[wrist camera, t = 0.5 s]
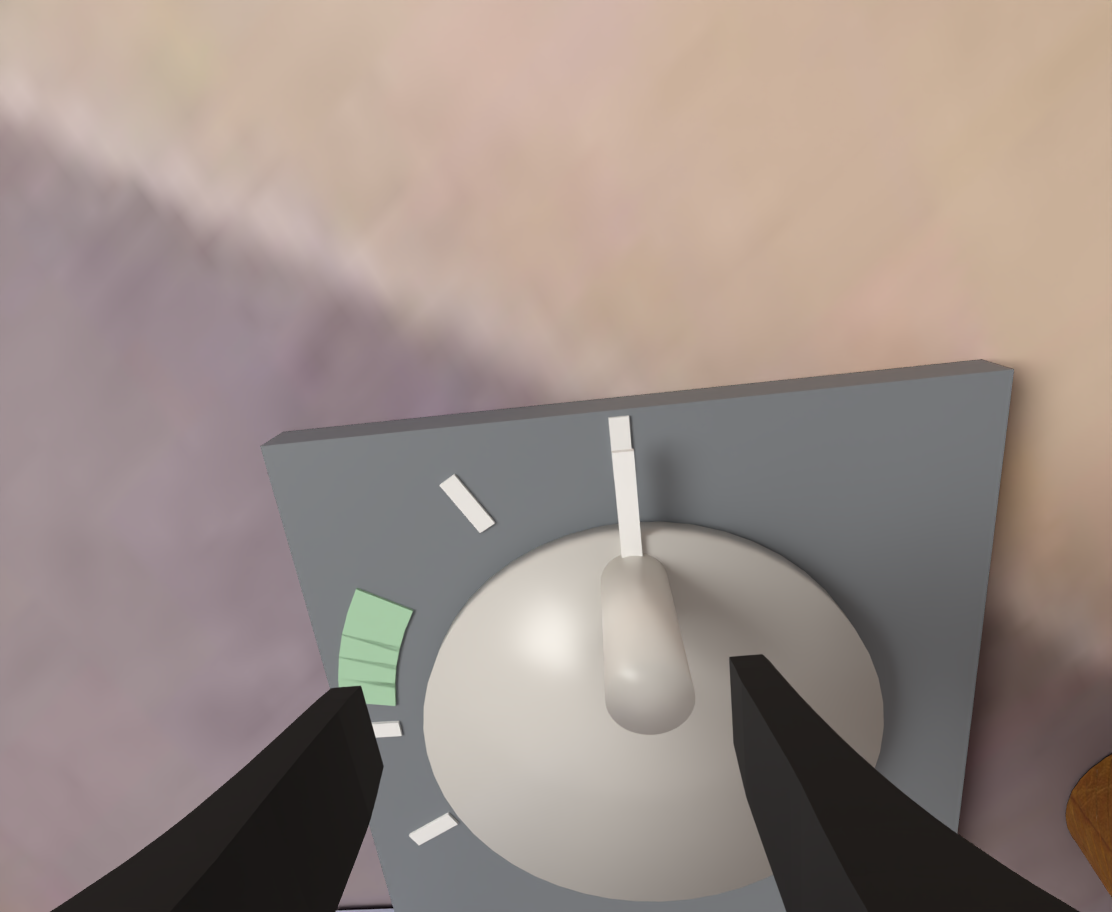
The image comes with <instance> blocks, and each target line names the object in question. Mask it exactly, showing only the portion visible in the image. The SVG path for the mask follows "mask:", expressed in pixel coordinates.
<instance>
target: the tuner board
mask: <svg viewBox="0 0 1112 912" xmlns="http://www.w3.org/2000/svg"><path fill="white" fill-rule="evenodd" d="M1013 374H1014V369H1011V368H1008V367H1005V366H1001V365H998V364H995V363H992V362H988V361H985V360H982V359H981V360H972V361H962V362H953V363H943V364H933V365H924V366H914V367H904V368H895V369H885V370H875V371H866V372H856V373H847V374H837V375H827V376H818V377H808V378H798V379H789V380H779V381H769V382H760V383H750V384H741V385H731V386H721V387H712V388H702V389H692V390H683V391H673V392H664V393H654V394H644V395H635V396H625V397H615V398H606V399H596V400H586V401H577V402H567V403H558V404H548V405H538V406H529V407H519V408H509V409H500V410H490V411H480V412H471V413H461V414H452V415H442V416H432V417H423V418H413V419H403V420H394V421H384V422H375V423H365V424H355V425H346V426H336V427H326V428H317V429H307V430H297V431H288V432H282V433H281V434H279V435H277V436H276V437H274V438H273V439H271V440H269V441H268V442H266V443H265V444H263V445H262V446H260V447H261V450H262V454H263V457H264V461H265V464H266V468H267V471H268V475H269V478H270V482H271V485H272V489H273V492H274V496H275V499H276V503H277V506H278V509H279V513H280V516H281V520H282V523H283V527H284V530H285V534H286V537H287V541H288V544H289V548H290V551H291V555H292V558H293V562H294V565H295V568H296V572H297V575H298V579H299V582H300V586H301V589H302V593H303V596H304V600H305V603H306V607H307V610H308V614H309V617H310V621H311V624H312V627H313V631H314V634H315V638H316V641H317V645H318V648H319V652H320V655H321V659H322V662H323V666H324V669H325V673H326V676H327V680H328V683H329V686H330V689H331V688H336V687H349V686H361V687H362V691H363V694H364V698H365V701H366V705H367V708H368V712H369V715H370V719H371V723H372V726H373V730H374V733H375V737H376V740H377V744H378V747H379V751H380V754H381V758H382V761H383V765H384V768H383V772H382V776H381V780H380V785H379V789H378V793H377V797H376V801H375V805H374V809H373V812H372V816H371V820H370V823H369V825H370V829H371V832H372V836H373V839H374V843H375V846H376V850H377V853H378V857H379V860H380V863H381V867H382V870H383V874H384V877H385V881H386V884H387V888H388V891H389V895H390V898H391V902H392V905H393V909H394V912H786V909H785V907H784V904H783V901H782V898H781V895H780V892H779V890H778V887H777V884H776V881H775V878H774V875H771V876H769V877H767V878H765V879H762V880H760V881H757V882H755V883H752V884H749V885H747V886H744V887H742V888H738V889H735V890H731V891H727V892H724V893H720V894H717V895H711V896H706V897H700V898H694V899H688V900H676V901H663V902H656V901H628V900H619V899H609V898H604V897H599V896H594V895H589V894H584V893H581V892H577V891H574V890H571V889H567V888H564V887H561V886H558V885H555V884H553V883H550V882H548V881H546V880H543V879H541V878H538V877H536V876H534V875H532V874H530V873H528V872H526V871H524V870H523V869H521V868H519V867H517V866H515V865H513V864H512V863H510V862H509V861H507V860H506V859H504V858H503V857H502V856H500V855H499V854H497V853H496V852H494V851H493V850H491V849H490V848H489V847H488V846H487V845H486V844H485V843H483V842H482V841H481V840H480V839H479V838H478V837H477V836H475V835H474V834H473V833H472V832H471V830H470V829H469V828H468V827H467V826H466V825H465V824H464V823H463V821H462V820H461V819H460V818H459V817H458V816H457V814H456V813H455V811H454V810H453V808H452V807H451V806H450V804H449V803H448V801H447V800H446V798H445V797H444V795H443V793H442V791H441V789H440V787H439V785H438V783H437V781H436V778H435V776H434V774H433V771H432V768H431V764H430V761H429V758H428V755H427V750H426V744H425V737H424V731H423V726H424V702H425V696H426V690H427V685H428V681H429V678H430V675H431V672H432V669H433V667H434V664H435V661H436V658H437V655H438V652H439V650H440V647H441V644H442V641H443V639H444V637H445V636H446V634H447V632H448V630H449V628H450V626H451V624H452V622H453V621H454V619H455V617H456V616H457V615H458V613H459V612H460V611H461V609H462V608H463V607H464V605H465V604H466V603H467V601H468V600H469V599H470V597H471V596H472V595H473V594H474V593H475V592H476V591H477V590H478V589H479V588H480V587H481V586H482V585H483V584H484V583H485V582H486V581H487V580H488V579H489V578H491V577H492V576H493V575H495V574H496V573H497V572H499V571H500V570H501V569H503V568H504V567H505V566H507V565H508V564H509V563H511V562H512V561H514V560H515V559H517V558H519V557H521V556H522V555H524V554H526V553H528V552H530V551H531V550H533V549H535V548H537V547H539V546H541V545H543V544H546V543H548V542H551V541H553V540H556V539H558V538H561V537H563V536H566V535H569V534H573V533H576V532H580V531H584V530H587V529H591V528H595V527H600V526H607V525H614V524H619V523H618V513H617V502H616V491H615V481H614V470H613V460H612V451H615V450H625V449H633V450H634V459H635V471H636V483H637V496H638V508H639V520H640V522H671V523H682V524H693V525H698V526H702V527H707V528H711V529H716V530H721V531H725V532H728V533H731V534H733V535H736V536H739V537H742V538H745V539H748V540H751V541H753V542H755V543H757V544H759V545H761V546H763V547H766V548H768V549H770V550H772V551H774V552H776V553H778V554H780V555H781V556H783V557H784V558H786V559H787V560H789V561H790V562H792V563H793V564H795V565H796V566H797V567H799V568H800V569H802V570H803V571H805V572H806V573H807V574H808V575H809V576H810V577H811V578H812V579H814V580H815V581H816V582H817V583H818V584H819V585H820V586H821V587H822V588H823V589H825V590H826V591H827V593H828V594H829V595H830V596H831V598H832V599H833V600H834V601H835V603H836V604H837V605H838V606H839V607H840V609H841V610H842V611H843V613H844V614H845V615H846V617H847V618H848V620H849V621H850V623H851V624H852V626H853V627H854V629H855V630H856V632H857V633H858V635H859V637H860V639H861V640H862V642H863V644H864V645H865V647H866V649H867V651H868V652H869V654H870V657H871V660H872V662H873V665H874V668H875V670H876V673H877V676H878V678H879V683H880V689H881V694H882V699H883V716H884V729H883V736H882V742H881V749H880V754H879V757H878V760H877V763H876V766H875V769H876V770H877V771H879V772H880V773H881V774H882V775H883V776H884V777H885V778H887V779H888V780H889V781H890V782H891V783H892V784H894V785H895V786H896V787H897V788H898V789H900V790H901V791H902V792H903V793H905V794H906V795H907V796H908V797H909V798H911V799H912V800H913V801H915V802H916V803H917V804H918V805H920V806H921V807H922V808H924V809H925V810H926V811H927V812H929V813H930V814H931V815H932V816H934V817H935V818H936V819H938V820H939V821H941V822H942V823H943V824H945V825H946V826H947V827H949V828H950V829H951V830H953V831H954V832H956V833H957V832H958V824H959V816H960V808H961V799H962V791H963V783H964V775H965V767H966V759H967V750H968V742H969V734H970V726H971V718H972V709H973V701H974V693H975V685H976V677H977V668H978V660H979V652H980V644H981V636H982V627H983V619H984V611H985V603H986V595H987V587H988V578H989V570H990V562H991V554H992V546H993V537H994V529H995V521H996V513H997V505H998V496H999V488H1000V480H1001V472H1002V464H1003V455H1004V447H1005V439H1006V431H1007V423H1008V415H1009V406H1010V398H1011V390H1012V382H1013Z"/></svg>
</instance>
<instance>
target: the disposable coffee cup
mask: <svg viewBox="0 0 1112 912" xmlns="http://www.w3.org/2000/svg"><path fill="white" fill-rule="evenodd" d="M1066 821H1067V827H1068V829H1069V831H1070V833H1071V836H1072V837H1073V839H1074V840H1075V841H1076V843H1077V844H1078V846H1079V847H1080V849H1081V850H1082V852H1083V854H1084V855H1085V857H1086V858H1087V860H1088V861H1089V863H1090V864H1091V866H1092V868H1093V869H1094V871H1095V872H1096V874H1097V875H1098V877H1099V878H1100V880H1101V881H1102V883H1103V885H1104V886H1105V888H1106V889H1107V891H1108V892H1109V894H1110V895H1111V897H1112V755H1110V756H1108V757H1106V758H1105V759H1103V760H1102V761H1101V762H1099V763H1098V764H1097V765H1096V766H1094V767H1093V768H1092V769H1090V770H1089V771H1088V772H1087V773H1086V774H1085V775H1084V776H1083V777H1082V778H1081V779H1080V781H1079V782H1078V783H1077V785H1076V786H1075V788H1074V789H1073V791H1072V793H1071V796H1070V799H1069V801H1068V804H1067V808H1066Z"/></svg>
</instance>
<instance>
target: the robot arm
mask: <svg viewBox="0 0 1112 912" xmlns="http://www.w3.org/2000/svg"><path fill="white" fill-rule="evenodd" d="M729 666H730V686H731V706H732V726H733V744H734V748H735V752H736V757H737V761H738V765H739V770H740V774H741V778H742V782H743V786H744V790H745V794H746V798H747V801H748V804H749V807H750V810H751V813H752V816H753V819H754V821H755V824H756V827H757V830H758V833H759V836H760V839H761V841H762V844H763V847H764V850H765V853H766V856H767V858H768V861H769V864H770V867H771V870H772V873H773V875H774V878H775V881H776V884H777V887H778V890H779V892H780V895H781V898H782V901H783V904H784V907H785V909H786V912H1079V911H1077V910H1076V909H1074V908H1072V907H1071V906H1069V905H1067V904H1066V903H1064V902H1062V901H1061V900H1059V899H1057V898H1056V897H1054V896H1052V895H1051V894H1049V893H1047V892H1046V891H1044V890H1042V889H1041V888H1039V887H1037V886H1036V885H1034V884H1032V883H1031V882H1029V881H1028V880H1026V879H1024V878H1023V877H1021V876H1020V875H1018V874H1017V873H1015V872H1013V871H1012V870H1010V869H1009V868H1007V867H1006V866H1004V865H1003V864H1001V863H1000V862H998V861H997V860H995V859H994V858H992V857H991V856H990V855H988V854H987V853H985V852H984V851H982V850H981V849H979V848H978V847H976V846H975V845H973V844H972V843H970V842H969V841H967V840H966V839H964V838H963V837H961V836H960V835H958V834H957V833H956V832H954V831H953V830H951V829H950V828H949V827H947V826H946V825H945V824H943V823H942V822H941V821H939V820H938V819H936V818H935V817H934V816H932V815H931V814H930V813H929V812H927V811H926V810H925V809H924V808H922V807H921V806H920V805H918V804H917V803H916V802H915V801H913V800H912V799H911V798H909V797H908V796H907V795H906V794H905V793H903V792H902V791H901V790H900V789H898V788H897V787H896V786H895V785H894V784H892V783H891V782H890V781H889V780H888V779H887V778H885V777H884V776H883V775H882V774H881V773H880V772H879V771H877V770H876V769H875V768H874V767H873V766H872V765H871V764H870V763H868V762H867V761H866V760H865V759H864V758H863V757H862V756H861V755H859V754H858V753H857V752H856V751H855V750H854V749H853V748H852V747H851V746H850V745H849V744H848V743H847V742H846V741H845V740H843V739H842V738H841V737H840V736H839V735H838V734H837V733H836V732H835V731H834V730H833V729H832V728H831V727H830V726H829V725H828V724H827V723H826V722H825V721H824V720H823V719H822V718H821V717H820V716H819V715H818V714H817V713H816V712H815V711H814V710H813V709H812V708H811V707H810V705H809V704H808V703H807V702H806V701H805V700H804V699H803V698H802V697H801V696H800V695H799V694H798V693H797V692H796V690H795V689H794V688H793V687H792V686H791V685H790V684H789V683H788V682H787V680H786V679H785V678H784V677H783V676H782V675H781V674H780V672H779V671H778V670H777V669H776V668H775V667H774V665H773V664H772V663H771V662H770V661H769V659H767V658H766V657H765V656H764V655H763V654H758V655H745V656H732V657H729ZM383 768H384V765H383V761H382V758H381V754H380V751H379V747H378V744H377V740H376V737H375V733H374V730H373V726H372V723H371V719H370V715H369V712H368V708H367V705H366V701H365V698H364V694H363V691H362V687H361V686H349V687H336V688H331V689H330V690H329V691H327V692H326V693H325V694H324V695H323V696H322V697H320V698H319V699H318V700H317V701H316V702H315V703H314V704H313V705H311V706H310V707H309V708H308V709H307V710H306V711H305V712H304V713H303V714H302V715H301V716H299V717H298V718H297V719H296V720H295V721H294V722H293V723H292V724H291V725H290V726H289V727H288V728H286V729H285V730H284V731H283V732H282V733H281V734H280V735H279V736H278V737H277V738H276V739H275V740H273V741H272V742H271V743H270V744H269V745H268V746H267V747H266V748H265V749H264V750H262V751H261V752H260V753H259V754H258V755H257V756H256V757H255V758H254V759H253V760H252V761H250V762H249V763H248V764H247V765H246V766H245V767H244V768H243V769H241V770H240V771H239V772H238V773H237V774H236V775H234V776H233V777H232V778H231V779H230V780H229V781H227V782H226V783H225V784H224V785H223V786H221V787H220V788H219V789H218V790H217V791H216V792H214V793H213V794H212V795H211V796H210V797H209V798H207V799H206V800H205V801H204V802H203V803H201V804H200V805H199V806H198V807H197V808H196V809H194V810H193V811H192V812H191V813H189V814H188V815H187V816H186V817H184V818H183V819H182V820H181V821H179V822H178V823H177V824H176V825H174V826H173V827H172V828H170V829H169V830H168V831H167V832H165V833H164V834H163V835H161V836H160V837H158V838H157V839H156V840H154V841H153V842H152V843H150V844H149V845H148V846H146V847H145V848H144V849H142V850H141V851H140V852H138V853H137V854H136V855H134V856H133V857H131V858H130V859H129V860H127V861H126V862H124V863H123V864H122V865H120V866H119V867H117V868H116V869H114V870H113V871H111V872H110V873H108V874H107V875H105V876H104V877H102V878H101V879H99V880H98V881H96V882H95V883H93V884H92V885H90V886H89V887H87V888H86V889H84V890H83V891H81V892H80V893H78V894H77V895H75V896H74V897H72V898H71V899H69V900H68V901H66V902H65V903H63V904H62V905H60V906H58V907H57V908H55V909H54V910H52V911H51V912H394V909H393V908H391V909H363V910H337V907H338V904H339V902H340V899H341V897H342V894H343V891H344V889H345V886H346V884H347V881H348V878H349V876H350V873H351V871H352V868H353V866H354V863H355V860H356V858H357V855H358V852H359V850H360V847H361V844H362V842H363V839H364V836H365V834H366V831H367V828H368V825H369V823H370V820H371V816H372V812H373V809H374V805H375V801H376V797H377V793H378V789H379V785H380V780H381V776H382V772H383Z"/></svg>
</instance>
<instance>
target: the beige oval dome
mask: <svg viewBox="0 0 1112 912" xmlns="http://www.w3.org/2000/svg"><path fill="white" fill-rule="evenodd" d="M612 460H613V470H614V481H615V491H616V502H617V513H618V523H619V524H614V525H607V526H600V527H595V528H591V529H587V530H584V531H580V532H576V533H573V534H569V535H566V536H563V537H561V538H558V539H556V540H553V541H551V542H548V543H546V544H543V545H541V546H539V547H537V548H535V549H533V550H531V551H530V552H528V553H526V554H524V555H522V556H521V557H519V558H517V559H515V560H514V561H512V562H511V563H509V564H508V565H507V566H505V567H504V568H503V569H501V570H500V571H499V572H497V573H496V574H495V575H493V576H492V577H491V578H489V579H488V580H487V581H486V582H485V583H484V584H483V585H482V586H481V587H480V588H479V589H478V590H477V591H476V592H475V593H474V594H473V595H472V596H471V597H470V599H469V600H468V601H467V603H466V604H465V605H464V607H463V608H462V609H461V611H460V612H459V613H458V615H457V616H456V617H455V619H454V621H453V622H452V624H451V626H450V628H449V630H448V632H447V634H446V636H445V637H444V639H443V641H442V644H441V647H440V650H439V652H438V655H437V658H436V661H435V664H434V667H433V669H432V672H431V675H430V678H429V681H428V685H427V690H426V696H425V702H424V726H423V731H424V737H425V744H426V750H427V755H428V758H429V761H430V764H431V768H432V771H433V774H434V776H435V778H436V781H437V783H438V785H439V787H440V789H441V791H442V793H443V795H444V797H445V798H446V800H447V801H448V803H449V804H450V806H451V807H452V808H453V810H454V811H455V813H456V814H457V816H458V817H459V818H460V819H461V820H462V821H463V823H464V824H465V825H466V826H467V827H468V828H469V829H470V830H471V832H472V833H473V834H474V835H475V836H477V837H478V838H479V839H480V840H481V841H482V842H483V843H485V844H486V845H487V846H488V847H489V848H490V849H491V850H493V851H494V852H496V853H497V854H499V855H500V856H502V857H503V858H504V859H506V860H507V861H509V862H510V863H512V864H513V865H515V866H517V867H519V868H521V869H523V870H524V871H526V872H528V873H530V874H532V875H534V876H536V877H538V878H541V879H543V880H546V881H548V882H550V883H553V884H555V885H558V886H561V887H564V888H567V889H571V890H574V891H577V892H581V893H584V894H589V895H594V896H599V897H604V898H609V899H619V900H628V901H656V902H663V901H676V900H688V899H694V898H700V897H706V896H711V895H717V894H720V893H724V892H727V891H731V890H735V889H738V888H742V887H744V886H747V885H749V884H752V883H755V882H757V881H760V880H762V879H765V878H767V877H769V876H771V875H773V873H772V870H771V867H770V864H769V861H768V858H767V856H766V853H765V850H764V847H763V844H762V841H761V839H760V836H759V833H758V830H757V827H756V824H755V821H754V819H753V816H752V813H751V810H750V807H749V804H748V801H747V798H746V794H745V790H744V786H743V782H742V778H741V774H740V770H739V765H738V761H737V757H736V752H735V748H734V744H733V726H732V706H731V686H730V666H729V657H732V656H745V655H758V654H763V655H764V656H765V657H766V658H767V659H769V661H770V662H771V663H772V664H773V665H774V667H775V668H776V669H777V670H778V671H779V672H780V674H781V675H782V676H783V677H784V678H785V679H786V680H787V682H788V683H789V684H790V685H791V686H792V687H793V688H794V689H795V690H796V692H797V693H798V694H799V695H800V696H801V697H802V698H803V699H804V700H805V701H806V702H807V703H808V704H809V705H810V707H811V708H812V709H813V710H814V711H815V712H816V713H817V714H818V715H819V716H820V717H821V718H822V719H823V720H824V721H825V722H826V723H827V724H828V725H829V726H830V727H831V728H832V729H833V730H834V731H835V732H836V733H837V734H838V735H839V736H840V737H841V738H842V739H843V740H845V741H846V742H847V743H848V744H849V745H850V746H851V747H852V748H853V749H854V750H855V751H856V752H857V753H858V754H859V755H861V756H862V757H863V758H864V759H865V760H866V761H867V762H868V763H870V764H871V765H872V766H873V767H874V768H875V766H876V763H877V760H878V757H879V754H880V749H881V742H882V736H883V729H884V716H883V699H882V694H881V689H880V683H879V678H878V676H877V673H876V670H875V668H874V665H873V662H872V660H871V657H870V654H869V652H868V651H867V649H866V647H865V645H864V644H863V642H862V640H861V639H860V637H859V635H858V633H857V632H856V630H855V629H854V627H853V626H852V624H851V623H850V621H849V620H848V618H847V617H846V615H845V614H844V613H843V611H842V610H841V609H840V607H839V606H838V605H837V604H836V603H835V601H834V600H833V599H832V598H831V596H830V595H829V594H828V593H827V591H826V590H825V589H823V588H822V587H821V586H820V585H819V584H818V583H817V582H816V581H815V580H814V579H812V578H811V577H810V576H809V575H808V574H807V573H806V572H805V571H803V570H802V569H800V568H799V567H797V566H796V565H795V564H793V563H792V562H790V561H789V560H787V559H786V558H784V557H783V556H781V555H780V554H778V553H776V552H774V551H772V550H770V549H768V548H766V547H763V546H761V545H759V544H757V543H755V542H753V541H751V540H748V539H745V538H742V537H739V536H736V535H733V534H731V533H728V532H725V531H721V530H716V529H711V528H707V527H702V526H698V525H693V524H682V523H671V522H640V520H639V508H638V496H637V483H636V471H635V459H634V450H633V449H625V450H615V451H612Z"/></svg>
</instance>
